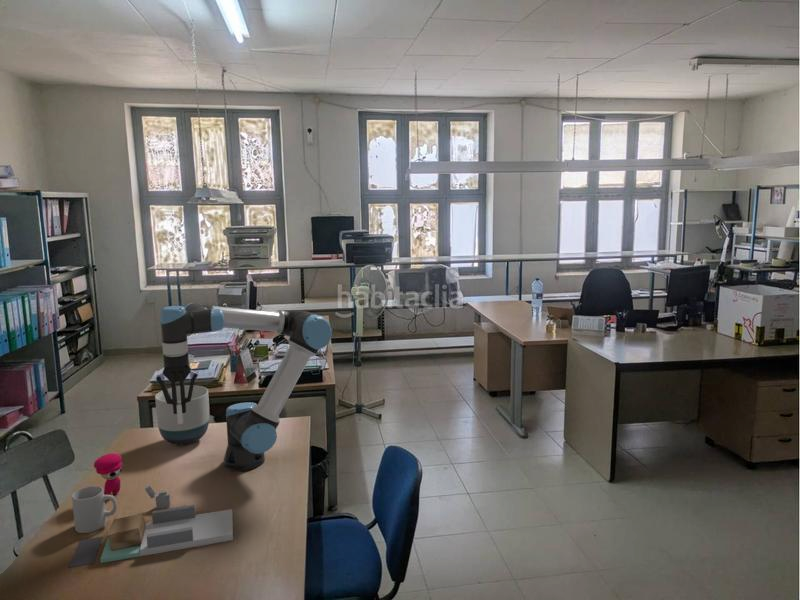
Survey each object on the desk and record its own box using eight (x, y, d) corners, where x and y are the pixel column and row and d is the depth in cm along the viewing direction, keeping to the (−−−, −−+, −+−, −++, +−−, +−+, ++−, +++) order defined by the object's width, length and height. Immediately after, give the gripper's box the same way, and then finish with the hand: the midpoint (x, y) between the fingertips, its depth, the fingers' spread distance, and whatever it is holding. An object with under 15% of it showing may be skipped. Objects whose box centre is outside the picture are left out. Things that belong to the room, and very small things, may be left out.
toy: (113, 504, 180) (109, 462, 177) (91, 501, 181) (87, 459, 179) (130, 491, 188) (127, 450, 185) (109, 489, 190) (105, 448, 187)
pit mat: (103, 539, 162) (102, 536, 162) (93, 566, 150) (93, 563, 150) (80, 543, 161) (80, 540, 160) (68, 570, 148) (68, 567, 148)
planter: (151, 441, 228) (147, 392, 225) (199, 428, 242) (196, 382, 238) (169, 457, 213) (165, 405, 210) (219, 442, 227) (216, 393, 223)
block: (145, 528, 163) (142, 513, 162) (141, 543, 156) (138, 527, 155) (116, 534, 161) (113, 519, 160) (110, 550, 153) (107, 535, 152)
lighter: (170, 504, 180) (168, 481, 179) (169, 507, 178) (168, 484, 177) (147, 507, 178) (145, 484, 177) (146, 510, 176) (144, 487, 175)
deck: (232, 514, 174) (231, 499, 173) (233, 540, 161) (232, 523, 160) (147, 528, 166) (145, 512, 165) (140, 556, 153) (138, 538, 152)
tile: (147, 528, 166) (146, 524, 166) (140, 556, 153) (140, 552, 153) (110, 534, 163) (110, 530, 163) (100, 563, 150) (100, 558, 150)
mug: (71, 535, 163) (67, 501, 161) (80, 519, 171) (76, 487, 169) (114, 529, 166) (111, 496, 164) (121, 514, 174) (118, 482, 172)
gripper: (197, 349, 182) (201, 416, 186) (155, 352, 178) (160, 420, 182) (196, 355, 175) (200, 424, 179) (152, 358, 171) (158, 429, 175)
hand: (180, 422), depth 181 cm, fingers closed
